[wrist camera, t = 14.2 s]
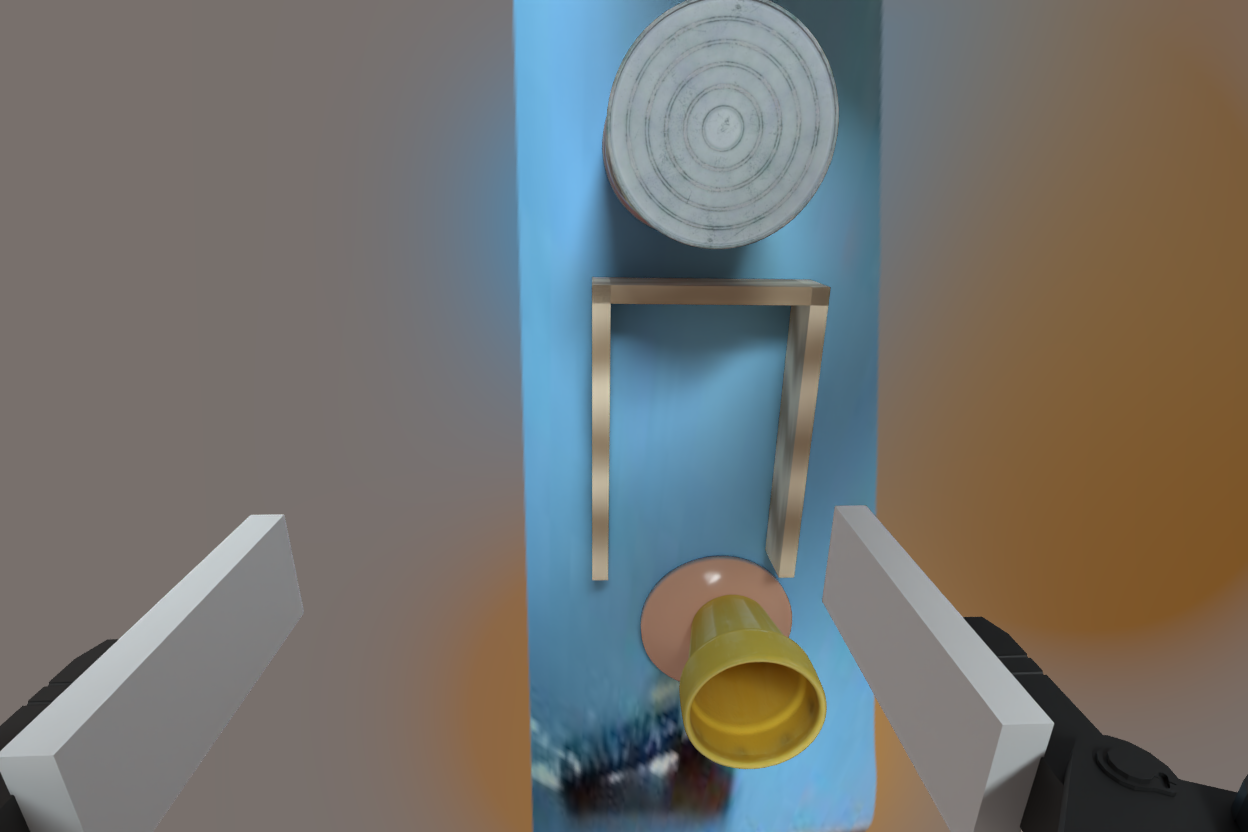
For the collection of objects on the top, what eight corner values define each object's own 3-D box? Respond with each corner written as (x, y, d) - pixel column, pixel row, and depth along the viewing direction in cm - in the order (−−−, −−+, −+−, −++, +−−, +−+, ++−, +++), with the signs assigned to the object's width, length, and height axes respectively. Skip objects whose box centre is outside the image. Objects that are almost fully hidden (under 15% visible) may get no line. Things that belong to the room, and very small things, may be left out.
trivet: (674, 536, 51) (676, 541, 50) (814, 581, 53) (818, 586, 52) (618, 659, 55) (619, 665, 54) (751, 695, 57) (753, 702, 56)
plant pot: (661, 672, 55) (675, 769, 45) (675, 571, 51) (693, 654, 42) (776, 677, 55) (813, 773, 46) (798, 578, 52) (842, 661, 43)
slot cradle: (592, 277, 44) (592, 284, 40) (810, 279, 45) (830, 287, 41) (592, 551, 51) (592, 580, 47) (779, 549, 52) (793, 577, 48)
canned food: (588, 65, 39) (587, 13, 28) (764, 36, 39) (835, -28, 28) (616, 247, 43) (625, 265, 32) (777, 221, 43) (843, 230, 32)
